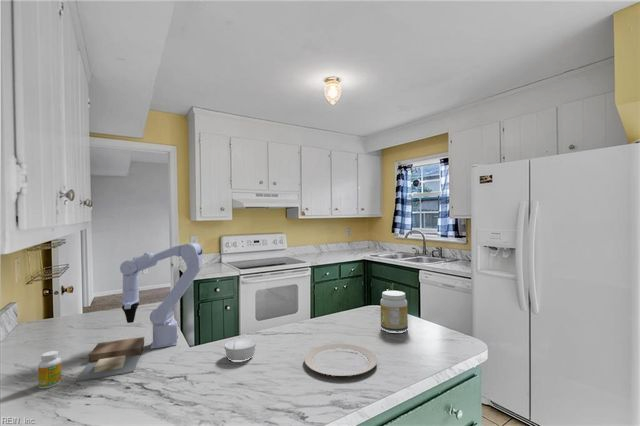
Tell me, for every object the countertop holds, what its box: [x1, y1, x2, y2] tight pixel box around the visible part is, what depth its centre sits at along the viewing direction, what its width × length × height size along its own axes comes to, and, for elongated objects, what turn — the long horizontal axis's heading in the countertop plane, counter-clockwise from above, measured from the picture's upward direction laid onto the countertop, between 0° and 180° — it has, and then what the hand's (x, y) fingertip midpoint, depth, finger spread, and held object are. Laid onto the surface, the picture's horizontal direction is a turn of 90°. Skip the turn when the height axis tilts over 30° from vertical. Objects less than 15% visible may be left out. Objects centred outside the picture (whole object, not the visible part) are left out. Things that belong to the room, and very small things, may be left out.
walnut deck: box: [88, 336, 145, 363], centre depth 122 cm, size 16×12×3 cm
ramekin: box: [224, 337, 257, 360], centre depth 117 cm, size 11×11×5 cm
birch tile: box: [94, 356, 125, 373], centre depth 109 cm, size 8×6×2 cm
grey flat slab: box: [75, 354, 141, 383], centre depth 109 cm, size 16×14×1 cm
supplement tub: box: [379, 290, 409, 332], centre depth 144 cm, size 12×12×17 cm
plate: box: [304, 343, 378, 377], centre depth 111 cm, size 26×26×2 cm
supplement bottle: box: [37, 350, 62, 389], centre depth 99 cm, size 5×5×10 cm
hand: (130, 322), depth 130 cm, fingers closed
